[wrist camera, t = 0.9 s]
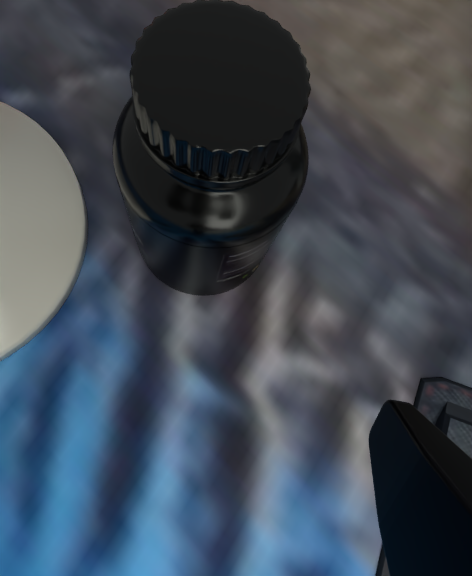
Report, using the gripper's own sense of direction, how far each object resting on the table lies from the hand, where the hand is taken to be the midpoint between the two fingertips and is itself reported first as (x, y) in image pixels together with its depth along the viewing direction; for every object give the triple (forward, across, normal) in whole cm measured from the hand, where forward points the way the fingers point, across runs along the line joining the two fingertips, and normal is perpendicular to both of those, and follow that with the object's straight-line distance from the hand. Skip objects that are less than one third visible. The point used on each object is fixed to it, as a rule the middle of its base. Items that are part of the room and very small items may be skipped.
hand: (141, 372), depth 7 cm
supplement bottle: (+15, 0, +3) cm, 16 cm away
